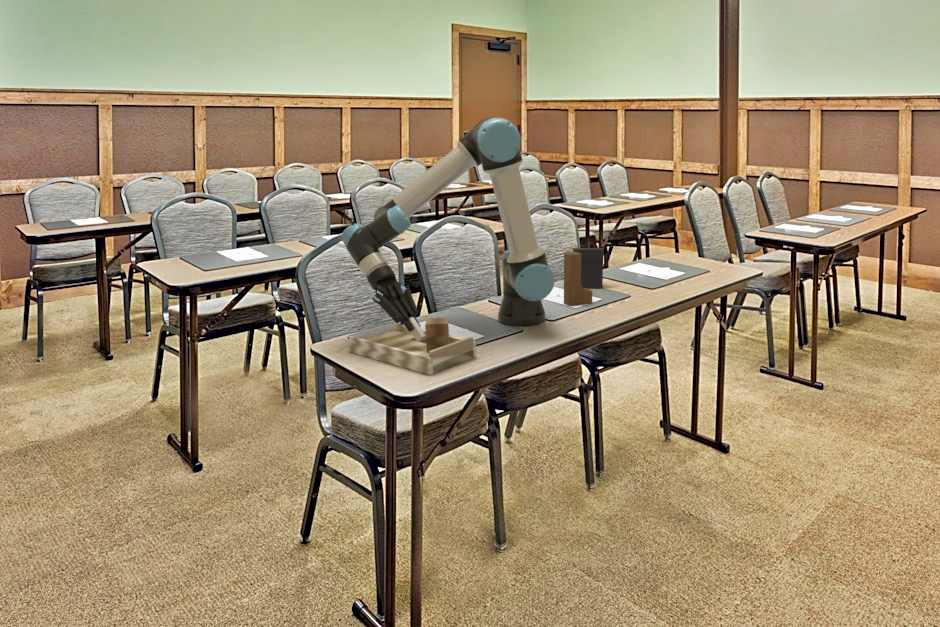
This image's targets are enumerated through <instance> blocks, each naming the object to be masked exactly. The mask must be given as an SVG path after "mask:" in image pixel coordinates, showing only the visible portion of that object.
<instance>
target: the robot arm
mask: <svg viewBox="0 0 940 627" xmlns="http://www.w3.org/2000/svg"><path fill="white" fill-rule="evenodd" d="M520 148H521V135H520V132H519V130H518V128H517V127H516V125H514V124H513V123H512V122H511V121H510V120H508V119H506V118H503V117H486V118H483V119H481V120H480V121H478V122H477V123H475V125H473V127H472V128H471V129H470V130H469V131H468V132H466V133H465V134H464V135H463V136H462V137H461V138H460V139H459V140H457V143H456V146H455V147H454V148H453V149H451V151H450V152H448V153H447V154H445V155H444V156H443V157H442V158H441V159H440V160H438V161H437V162H436V163H434V164H433V165H432V166H431V167H430V168H428V169H427V170H425V172H424V173H423V174H421V175H420V176H419V177H418V178H416V179H415V180H414V181H413V182H412V183H410V184H409V185H408V186H406V187H404V188H403V189H402V190H401V192H399V193H397V194H396V196H394V197H393V198H392V199H391V200H390V201H388V202H387V203H385V205H382V206H379V208H377V209H376V210H375V213H374V215H373V221H371V222H370V223H368V224H367V225H363V224H361V223H353V224H352V225H349V226H348V227H346V228H345V229H344V230H343V232H342V233H341V236H340V238H341V241H342V244H343V245H344V247H345V249H346V250H347V252H348V253H349V255H350V256H351V258H352V259H353V261H354V262H355V264H356V265H357V266H358V268H359V270H360V271H361V273H362V274H363V276H364V278H366V281H367V282H368V283H369V284H368V285H370V287H371V288H372V290H374V291H375V295H374V296H373V297H372V299H371V300H372V301H373V302H374V303H376V304H378V305H379V307H381V308H382V309H383V310H384V312H385V313H386V314H387V315H388V316H389V317H390V318H391V319H392V320H393V321H394V323H400V324H401V325H403V324H404V325H405V327H406V328H407V330H408V331H409V332H411V333H412V335H413V336H414V338H415V340H416V341H417V342H420V341H422V340H423V338H424V337H425V336H426V335H425V334H424V332H423V331H422V329H423V328H422V327H421V324H420V322H419V321H418V319H417V318H416V317H417V316H418V314H419V310H418V308H417V305H416V302H415V300H414V298H413V296H412V293H411V287H410V285H409V284H406V286H405V285H401V283H400V282H399V281H398V280H397V278H396V273H395V272H394V271H393V269H392V267H391V266H390V265H389V262H388V261H387V260H386V258H385V257H384V255H383V254H382V253H381V251H380V249H381V248H382V247H384V246H386V245H387V244H388V243H389V242H391V241H393V240H394V239H396V238H397V237H399V236H401V235H402V234H404V233H405V231H407V230H408V229H409V228H411V226H412V223H411V221H410V220H409V218H410V217H412V216H413V215H415V213H417V212H418V211H420V210H421V209H422V208H423V207H424V206H425V205H426V204H428V203H429V202H430V201H432V200H433V199H434V198H435V197H436V196H438V195H439V194H441V193H442V191H444V190H445V189H446V188H448V187H449V186H450V185H451V184H453V183H454V182H455V181H456V180H458V179H459V178H460V177H461V176H463V175H464V174H465V173H466V172H468V171H469V170H470V169H472V168H473V167H475V168H478V167H479V166H480V165H481V166H482V171H483V172H484V173H486V174H487V175H489V177H490V181H491V185H492V188H493V192H494V197H495V200H496V204H497V208H498V212H499V215H500V220H501V224H502V228H503V231H504V235H505V238H506V243H507V248H508V250H504V252H502V253H503V254H502V259H501V261H502V284H503V285H502V289H503V290H502V292H503V293H502V294H503V296H502V300H501V302H500V306H499V309H498V312H497V321H498V322H500V324H501V323H502V324H504V325H509V326H517V327H518V326H519V327H523V326H524V327H525V326H526V327H527V326H535V325H539V324H542V323H543V322H545V321H546V311H545V309H544V306H543V303H542V300H544V299H545V298H547V297H548V296H549V295H550V294H551V292H552V291H553V289H554V287H555V281H556V280H555V276H554V273H553V271H552V269H551V268H550V267H549V264H548V260H547V256H546V252H545V249H543V248H542V247H540V246H539V244H538V240H537V236H536V232H535V229H534V228H535V227H534V223H533V220H532V215H531V212H530V208H529V202H528V200H527V196H526V192H525V187H524V183H523V180H522V175H521V170H520V166H521V165H522V163H523V156H522V153H521V149H520Z"/></svg>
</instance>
